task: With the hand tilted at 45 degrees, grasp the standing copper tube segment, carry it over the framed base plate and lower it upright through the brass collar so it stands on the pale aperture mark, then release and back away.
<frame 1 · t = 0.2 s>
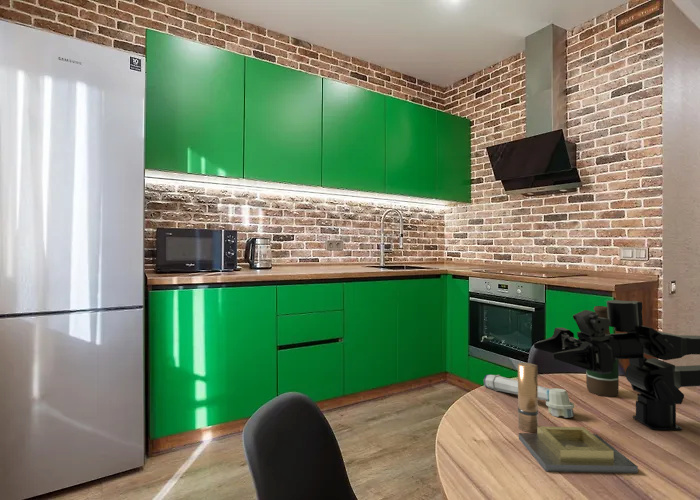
hand: (543, 350, 88), 17 cm above the table, tool horizontal, fingers open, 9 cm apart
beer bottle: (602, 393, 107), on the table
tube: (528, 428, 85), on the table
framed base plate: (573, 454, 74), on the table
toothbrush head: (525, 402, 101), on the table
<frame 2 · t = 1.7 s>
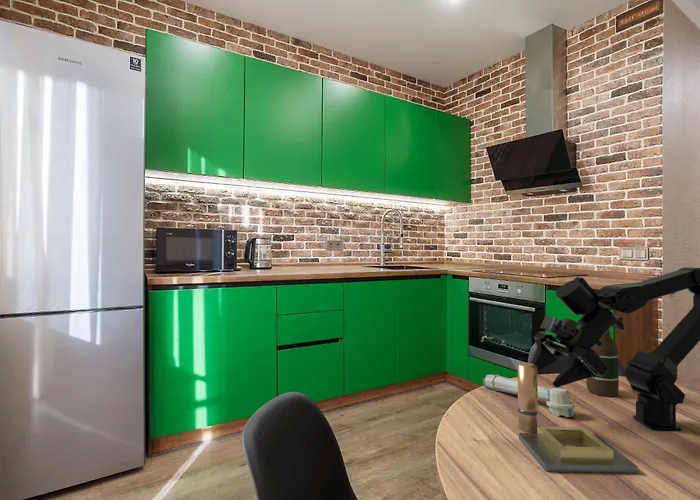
hand: (542, 378, 85), 11 cm above the table, tool tilted 45°, fingers open, 9 cm apart
nothing on the table moved.
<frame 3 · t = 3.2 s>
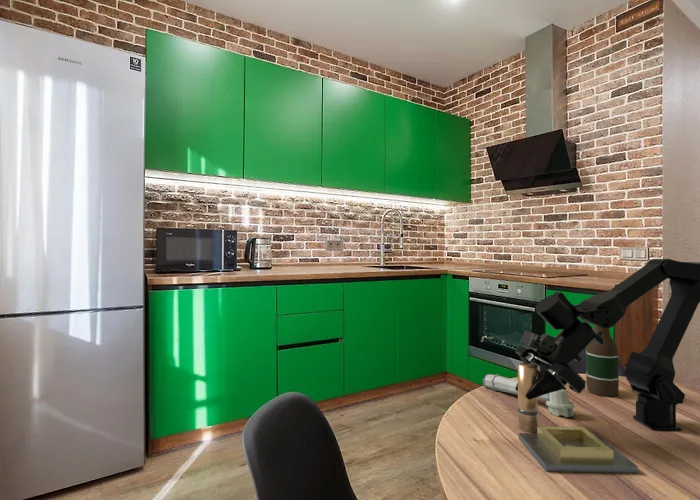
hand: (521, 394, 85), 8 cm above the table, tool tilted 45°, fingers closed on tube, 4 cm apart
tube: (527, 428, 85), on the table, touching gripper
everything else where it was.
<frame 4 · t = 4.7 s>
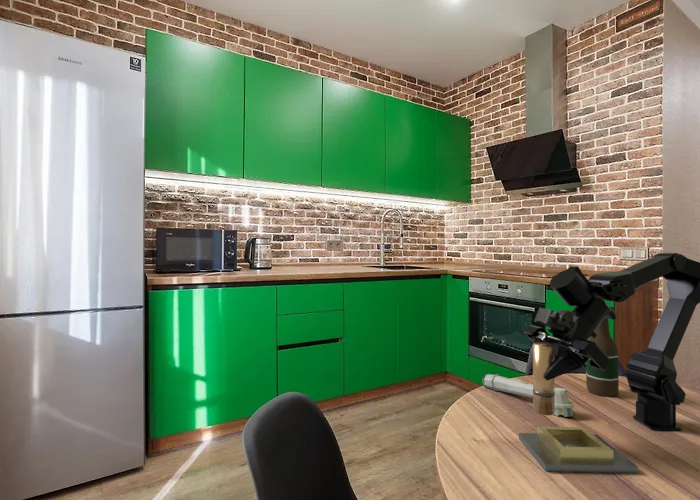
hand: (537, 375, 80), 13 cm above the table, tool tilted 45°, fingers closed on tube, 4 cm apart
tube: (543, 411, 80), point 6 cm above the table, touching gripper
everything else where it was.
when the fingers open (10 cm above the table, at t = 6.1 s): tube drops 1 cm, resting on framed base plate.
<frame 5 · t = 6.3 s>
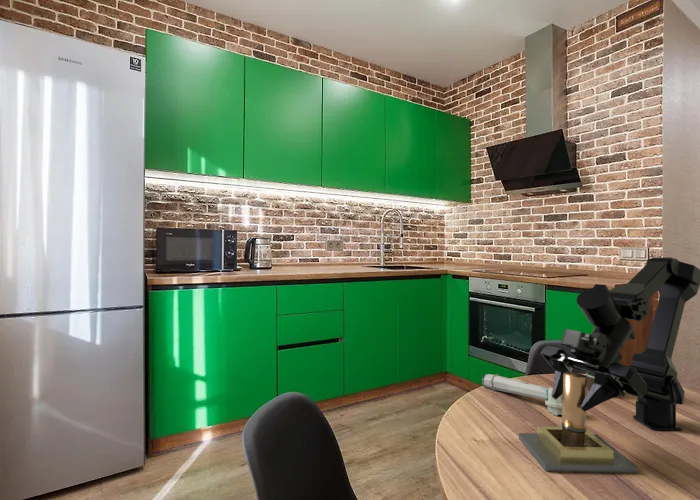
hand: (567, 403, 73), 10 cm above the table, tool tilted 45°, fingers open, 6 cm apart
tube: (573, 447, 74), point 1 cm above the table, touching framed base plate
everything else where it was.
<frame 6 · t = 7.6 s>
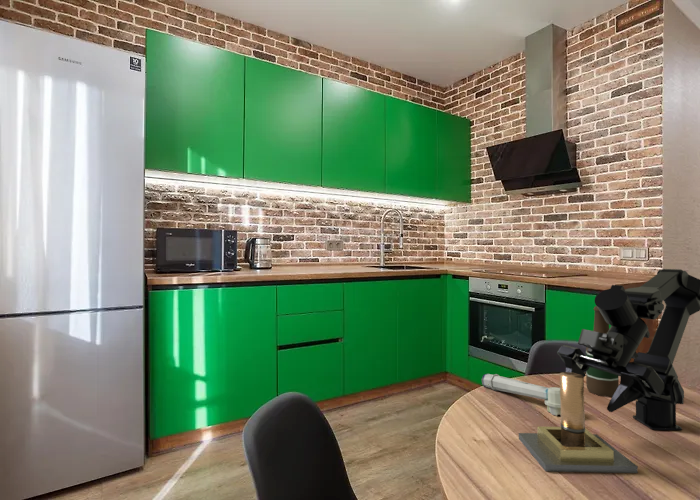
hand: (585, 401, 75), 10 cm above the table, tool tilted 45°, fingers open, 9 cm apart
nothing on the table moved.
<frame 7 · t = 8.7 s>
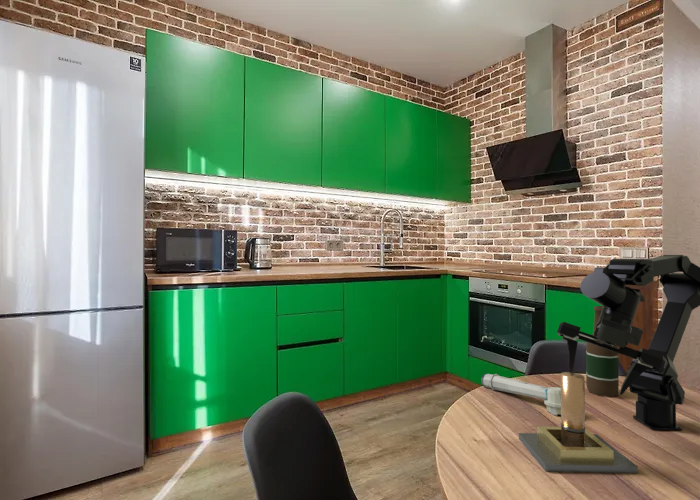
hand: (594, 384, 79), 12 cm above the table, tool tilted 25°, fingers open, 9 cm apart
nothing on the table moved.
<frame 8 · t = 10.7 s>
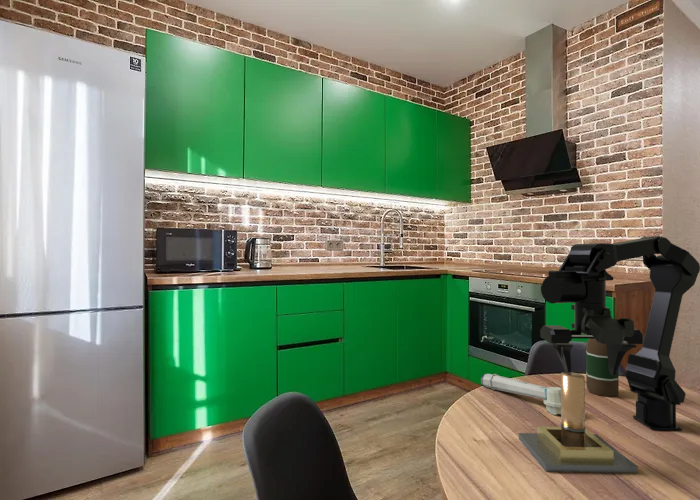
hand: (590, 374, 82), 13 cm above the table, tool pointing down, fingers open, 9 cm apart
nothing on the table moved.
at the end: tube 0.0 cm off-centre on the framed base plate, point 1.3 cm above the framed base plate's base; tube tilted 1°; the gripper is holding nothing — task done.
